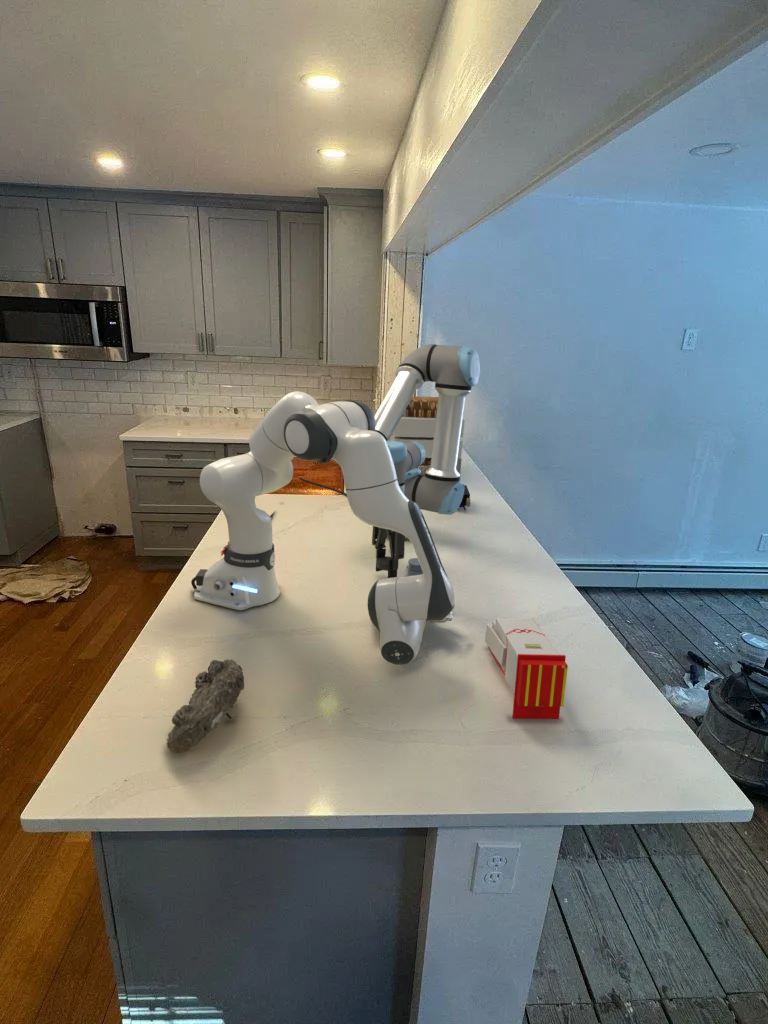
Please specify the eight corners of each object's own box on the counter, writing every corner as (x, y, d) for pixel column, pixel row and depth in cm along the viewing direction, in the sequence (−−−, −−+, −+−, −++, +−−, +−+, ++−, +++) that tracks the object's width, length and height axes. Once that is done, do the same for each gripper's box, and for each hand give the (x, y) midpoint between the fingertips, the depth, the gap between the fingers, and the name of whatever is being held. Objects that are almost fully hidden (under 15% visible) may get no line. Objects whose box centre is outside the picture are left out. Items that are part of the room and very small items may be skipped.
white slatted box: (382, 463, 289) (386, 382, 275) (445, 464, 293) (451, 384, 279) (390, 482, 257) (394, 392, 243) (460, 483, 261) (468, 394, 247)
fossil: (192, 660, 117) (244, 628, 112) (224, 691, 120) (276, 661, 115) (142, 746, 98) (202, 712, 93) (182, 779, 101) (242, 748, 96)
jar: (410, 621, 144) (414, 567, 139) (399, 612, 148) (402, 559, 143) (426, 616, 147) (430, 563, 142) (415, 608, 151) (418, 555, 146)
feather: (282, 505, 226) (285, 501, 225) (264, 529, 199) (267, 524, 198) (279, 503, 225) (281, 499, 225) (260, 526, 199) (263, 522, 198)
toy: (531, 603, 136) (576, 661, 106) (526, 655, 139) (569, 725, 109) (481, 602, 135) (512, 660, 106) (477, 654, 138) (507, 724, 109)
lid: (398, 564, 165) (398, 558, 164) (393, 571, 160) (394, 565, 159) (379, 561, 166) (379, 555, 166) (374, 569, 161) (374, 562, 161)
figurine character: (470, 515, 225) (465, 499, 238) (472, 498, 221) (467, 483, 235) (453, 515, 224) (449, 499, 238) (455, 497, 221) (451, 482, 234)
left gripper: (453, 610, 131) (456, 583, 144) (366, 599, 134) (377, 574, 147) (450, 634, 133) (454, 605, 146) (365, 622, 136) (376, 596, 149)
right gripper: (361, 490, 162) (358, 564, 169) (398, 510, 147) (393, 590, 155) (383, 487, 166) (379, 560, 173) (421, 506, 151) (415, 584, 159)
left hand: (414, 589), depth 146 cm, fingers closed on jar, 5 cm apart
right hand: (386, 574), depth 164 cm, fingers closed on lid, 6 cm apart
